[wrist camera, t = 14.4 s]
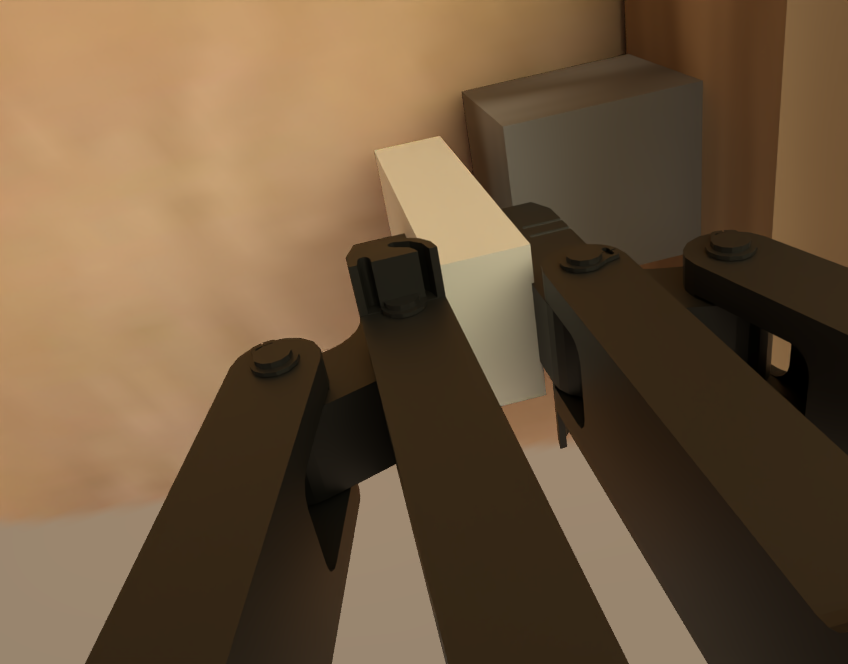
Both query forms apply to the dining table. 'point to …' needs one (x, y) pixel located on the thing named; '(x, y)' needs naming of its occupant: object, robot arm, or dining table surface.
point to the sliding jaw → (684, 132)
